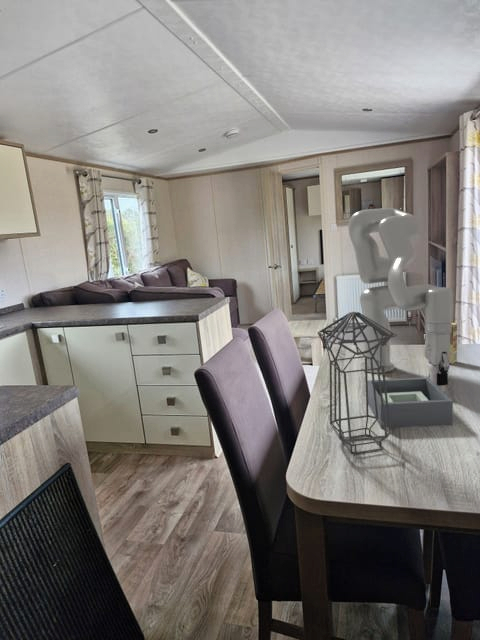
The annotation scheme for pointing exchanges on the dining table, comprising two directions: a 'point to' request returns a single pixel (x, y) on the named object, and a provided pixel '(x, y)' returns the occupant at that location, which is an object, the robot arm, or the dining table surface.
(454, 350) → the candy box
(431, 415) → the bin
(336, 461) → the dining table surface
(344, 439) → the geometric lantern
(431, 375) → the smoothie
